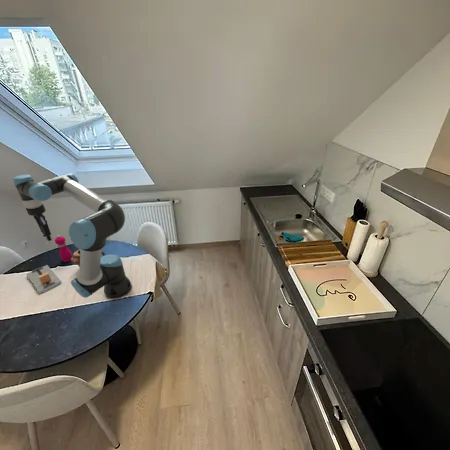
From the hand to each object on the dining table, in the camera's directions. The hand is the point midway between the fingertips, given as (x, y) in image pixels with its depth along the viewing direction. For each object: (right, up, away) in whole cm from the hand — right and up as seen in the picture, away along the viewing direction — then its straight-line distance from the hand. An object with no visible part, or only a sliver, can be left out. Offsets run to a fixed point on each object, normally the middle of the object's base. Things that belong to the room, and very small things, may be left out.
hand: (51, 244), depth 137 cm
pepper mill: (-15, -14, +38) cm, 43 cm away
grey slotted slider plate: (-18, -24, +20) cm, 36 cm away
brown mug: (+6, -18, +30) cm, 36 cm away
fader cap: (-14, -24, +16) cm, 32 cm away
